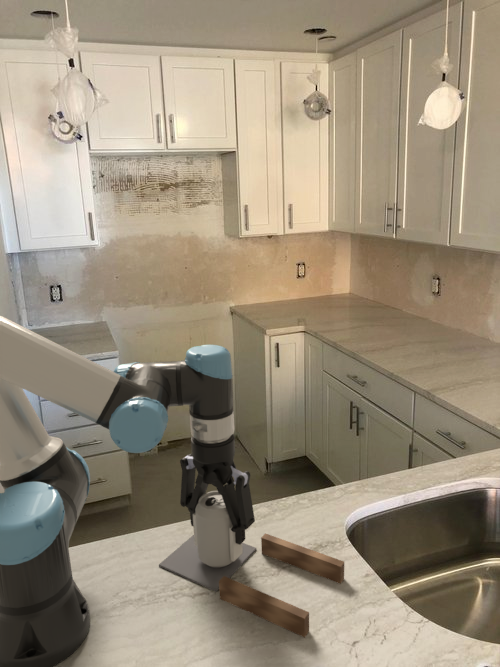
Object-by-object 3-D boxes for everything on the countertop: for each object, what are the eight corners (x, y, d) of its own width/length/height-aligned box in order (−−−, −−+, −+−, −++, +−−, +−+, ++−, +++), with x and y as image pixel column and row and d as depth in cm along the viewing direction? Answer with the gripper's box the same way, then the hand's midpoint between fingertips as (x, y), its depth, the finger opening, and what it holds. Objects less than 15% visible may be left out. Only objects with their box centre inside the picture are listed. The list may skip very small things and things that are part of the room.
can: (205, 541, 104) (201, 486, 101) (243, 546, 103) (241, 489, 100) (192, 567, 97) (189, 508, 94) (233, 572, 96) (231, 512, 93)
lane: (219, 598, 92) (218, 581, 91) (265, 549, 104) (265, 533, 103) (304, 637, 83) (304, 618, 82) (344, 578, 95) (344, 561, 94)
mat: (159, 566, 100) (158, 564, 100) (202, 529, 111) (202, 527, 110) (216, 591, 93) (216, 590, 93) (256, 549, 104) (256, 547, 104)
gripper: (153, 430, 96) (162, 542, 102) (250, 457, 85) (253, 581, 91) (181, 415, 102) (188, 521, 108) (274, 439, 91) (276, 556, 97)
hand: (218, 548), depth 100 cm, fingers closed on can, 7 cm apart
